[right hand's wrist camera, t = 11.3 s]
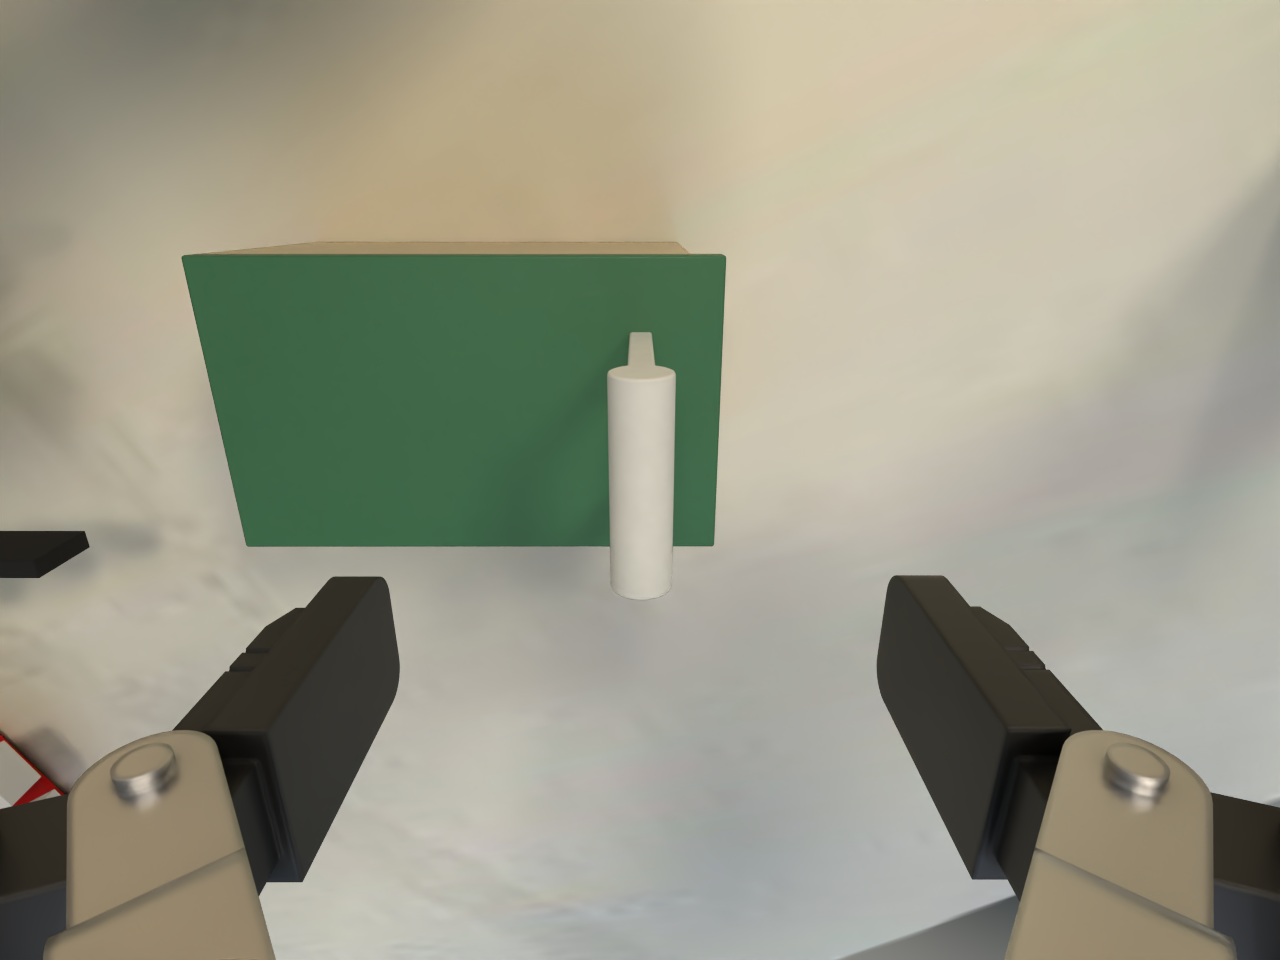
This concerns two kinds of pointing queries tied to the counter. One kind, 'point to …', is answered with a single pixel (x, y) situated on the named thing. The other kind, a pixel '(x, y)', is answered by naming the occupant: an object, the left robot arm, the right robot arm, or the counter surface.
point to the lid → (470, 399)
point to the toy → (21, 779)
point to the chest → (469, 248)
